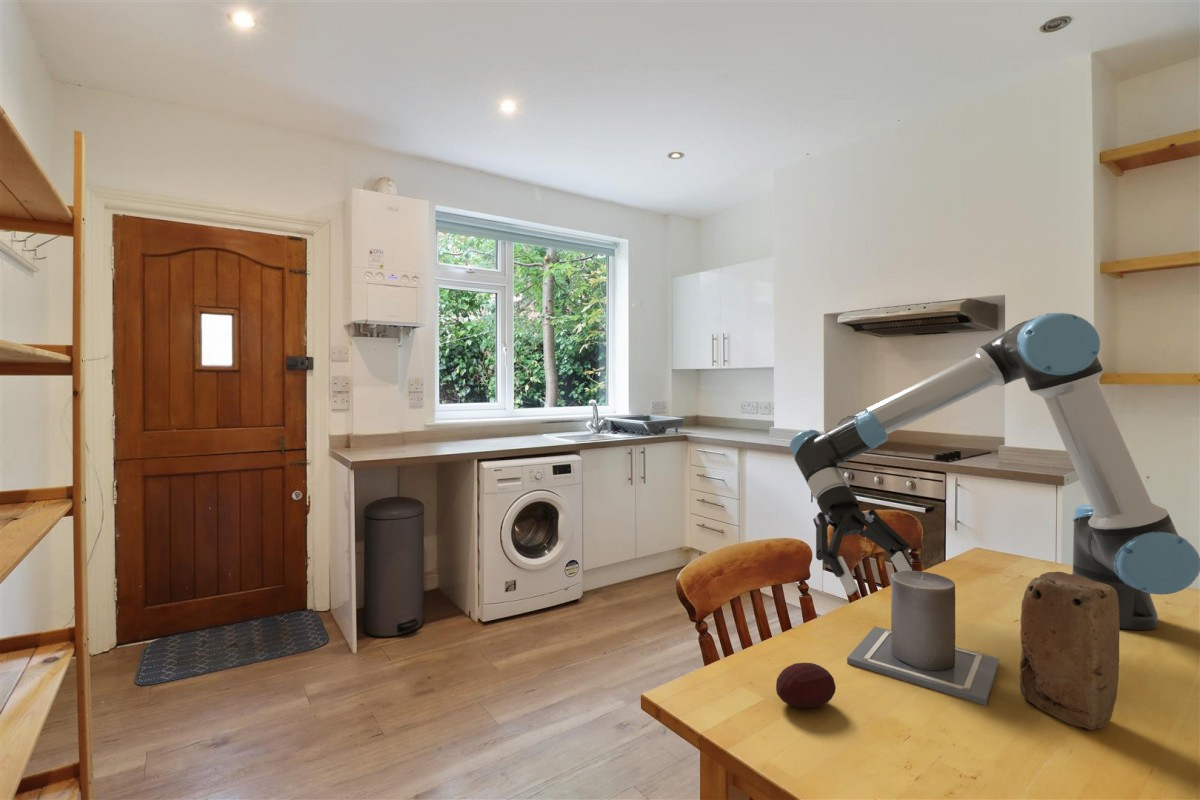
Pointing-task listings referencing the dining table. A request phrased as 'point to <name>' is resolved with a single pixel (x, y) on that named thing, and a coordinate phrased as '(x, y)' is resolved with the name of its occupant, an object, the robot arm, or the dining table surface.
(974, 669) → the slate tile
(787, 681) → the potato
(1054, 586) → the block
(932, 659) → the pillar candle
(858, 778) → the dining table surface
